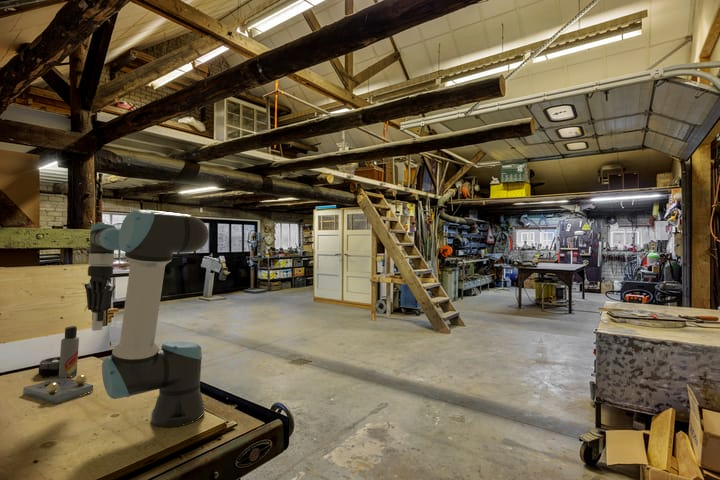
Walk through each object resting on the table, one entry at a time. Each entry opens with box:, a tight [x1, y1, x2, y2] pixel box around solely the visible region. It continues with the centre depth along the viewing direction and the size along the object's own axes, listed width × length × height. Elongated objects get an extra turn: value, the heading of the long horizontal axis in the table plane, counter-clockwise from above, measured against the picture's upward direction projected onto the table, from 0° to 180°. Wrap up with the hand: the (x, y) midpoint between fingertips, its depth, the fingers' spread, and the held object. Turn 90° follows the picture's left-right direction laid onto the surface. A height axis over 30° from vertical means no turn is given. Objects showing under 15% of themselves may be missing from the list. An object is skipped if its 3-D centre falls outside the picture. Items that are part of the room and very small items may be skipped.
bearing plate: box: [22, 377, 94, 405], centre depth 128 cm, size 18×12×2 cm, turn 69°
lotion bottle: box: [58, 325, 80, 378], centre depth 146 cm, size 6×6×20 cm
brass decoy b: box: [46, 383, 59, 393], centre depth 123 cm, size 3×3×3 cm
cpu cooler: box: [38, 356, 60, 378], centre depth 149 cm, size 10×6×10 cm
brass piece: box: [75, 374, 88, 384], centre depth 131 cm, size 3×3×3 cm
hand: (97, 329), depth 131 cm, fingers closed
